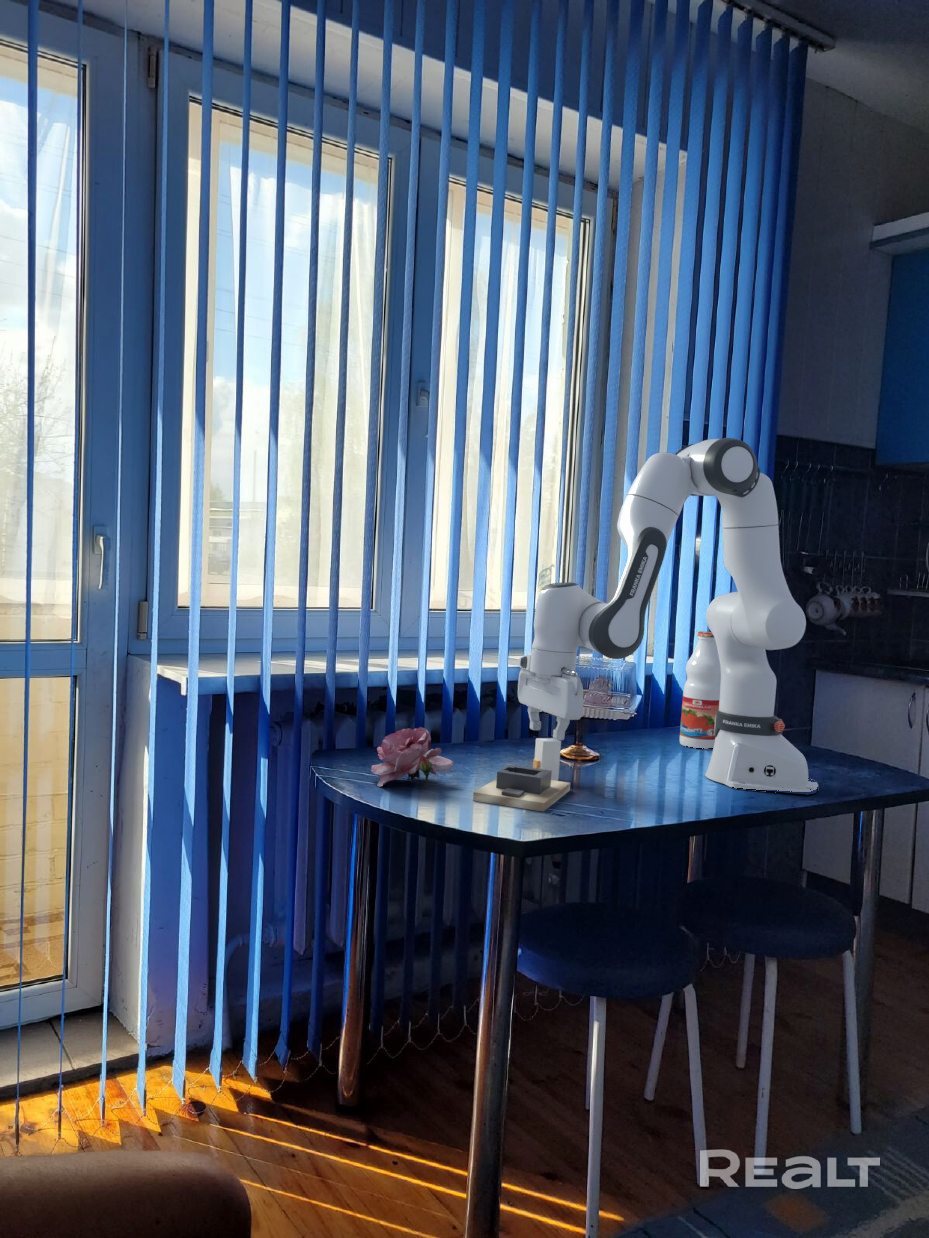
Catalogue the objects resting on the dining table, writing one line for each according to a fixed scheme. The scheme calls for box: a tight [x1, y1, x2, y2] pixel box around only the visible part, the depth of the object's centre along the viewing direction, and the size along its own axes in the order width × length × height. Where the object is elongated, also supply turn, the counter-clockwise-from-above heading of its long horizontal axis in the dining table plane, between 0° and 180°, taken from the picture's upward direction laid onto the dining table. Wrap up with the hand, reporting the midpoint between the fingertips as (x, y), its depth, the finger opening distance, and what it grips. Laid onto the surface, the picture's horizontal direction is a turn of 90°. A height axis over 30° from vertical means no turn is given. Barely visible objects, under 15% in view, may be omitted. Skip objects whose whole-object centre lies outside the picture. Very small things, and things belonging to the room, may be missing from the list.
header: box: [496, 764, 552, 795], centre depth 184 cm, size 8×7×3 cm
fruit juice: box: [679, 630, 721, 750], centre depth 245 cm, size 9×9×28 cm
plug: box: [532, 737, 562, 781], centre depth 198 cm, size 5×3×8 cm, turn 114°
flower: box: [370, 726, 454, 788], centre depth 187 cm, size 15×15×10 cm
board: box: [472, 778, 571, 812], centre depth 184 cm, size 13×18×2 cm
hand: (546, 734), depth 197 cm, fingers open, 8 cm apart
